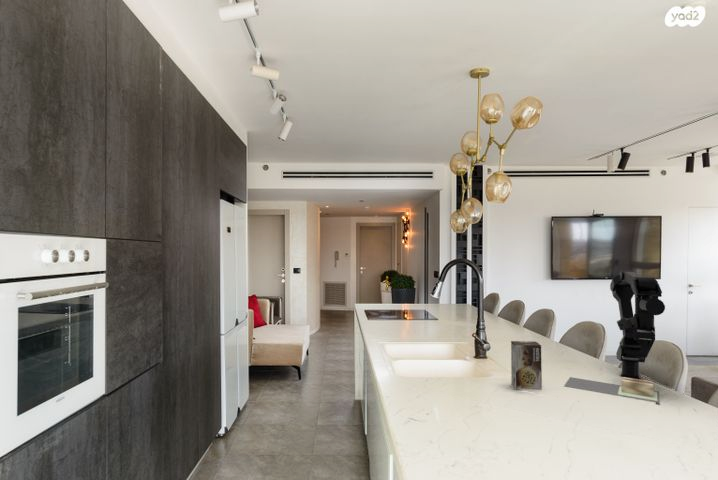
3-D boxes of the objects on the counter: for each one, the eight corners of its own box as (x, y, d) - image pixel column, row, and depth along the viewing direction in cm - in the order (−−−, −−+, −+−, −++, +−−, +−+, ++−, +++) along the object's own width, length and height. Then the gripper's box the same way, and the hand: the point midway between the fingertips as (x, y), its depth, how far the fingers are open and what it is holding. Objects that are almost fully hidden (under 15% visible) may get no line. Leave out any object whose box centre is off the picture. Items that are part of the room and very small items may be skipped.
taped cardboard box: (653, 393, 145) (653, 381, 145) (653, 397, 140) (653, 385, 141) (622, 388, 150) (622, 376, 150) (621, 392, 146) (621, 380, 146)
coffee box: (536, 385, 154) (536, 341, 155) (542, 391, 148) (542, 345, 148) (510, 384, 155) (510, 340, 156) (515, 390, 149) (515, 344, 149)
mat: (570, 378, 163) (570, 376, 163) (658, 393, 147) (658, 391, 147) (563, 388, 152) (563, 386, 152) (659, 404, 136) (659, 402, 136)
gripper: (619, 307, 165) (620, 347, 165) (616, 312, 150) (616, 356, 149) (654, 309, 159) (655, 351, 158) (654, 315, 143) (655, 361, 143)
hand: (644, 355), depth 152 cm, fingers open, 9 cm apart
